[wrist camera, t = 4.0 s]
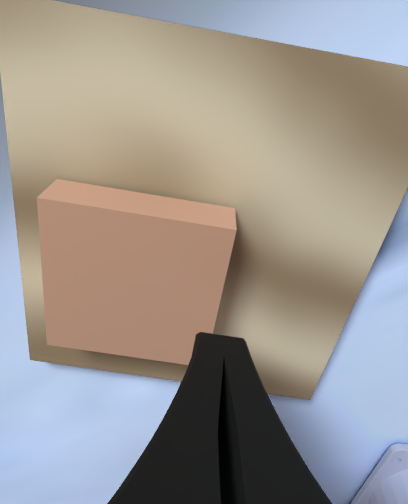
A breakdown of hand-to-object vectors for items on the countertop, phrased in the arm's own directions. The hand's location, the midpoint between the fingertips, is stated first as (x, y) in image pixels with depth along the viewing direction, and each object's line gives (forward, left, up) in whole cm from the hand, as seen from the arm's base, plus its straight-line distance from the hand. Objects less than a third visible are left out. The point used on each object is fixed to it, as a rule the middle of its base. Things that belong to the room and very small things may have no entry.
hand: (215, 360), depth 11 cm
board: (+1, +1, -5) cm, 5 cm away
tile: (0, 0, -3) cm, 3 cm away
